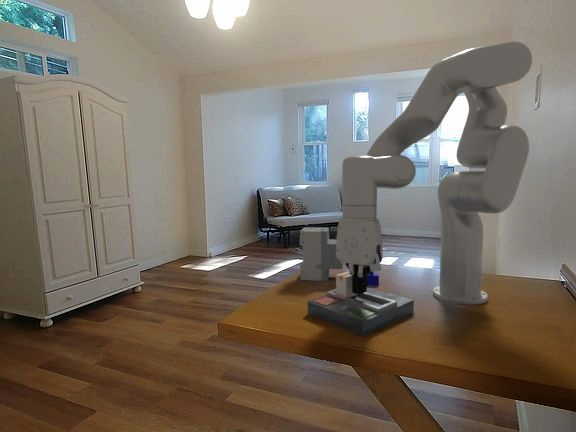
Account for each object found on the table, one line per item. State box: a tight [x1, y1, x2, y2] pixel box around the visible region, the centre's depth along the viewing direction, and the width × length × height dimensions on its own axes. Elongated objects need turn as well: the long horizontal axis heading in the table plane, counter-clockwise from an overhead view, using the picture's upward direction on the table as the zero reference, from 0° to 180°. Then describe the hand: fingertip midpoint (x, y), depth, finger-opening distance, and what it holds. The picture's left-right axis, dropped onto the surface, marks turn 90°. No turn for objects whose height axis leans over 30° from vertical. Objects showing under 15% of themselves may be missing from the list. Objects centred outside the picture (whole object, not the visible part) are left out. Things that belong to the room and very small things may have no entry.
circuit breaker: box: [299, 226, 344, 282], centre depth 112 cm, size 8×14×15 cm, turn 78°
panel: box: [307, 286, 415, 337], centre depth 83 cm, size 18×16×4 cm
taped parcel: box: [335, 271, 357, 297], centre depth 86 cm, size 4×3×5 cm
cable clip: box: [367, 264, 380, 286], centre depth 109 cm, size 12×4×6 cm, turn 172°
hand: (359, 292), depth 83 cm, fingers closed
